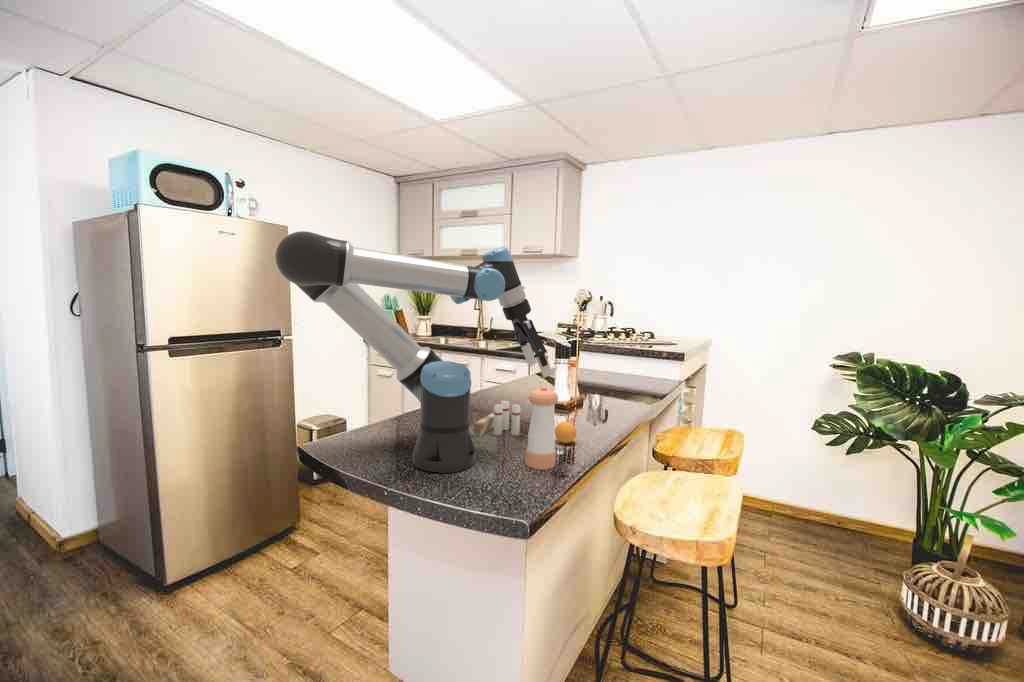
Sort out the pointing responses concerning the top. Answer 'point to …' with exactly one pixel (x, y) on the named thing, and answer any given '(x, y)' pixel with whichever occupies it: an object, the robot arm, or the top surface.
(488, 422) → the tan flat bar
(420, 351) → the robot arm
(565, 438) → the ball
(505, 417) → the pin
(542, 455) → the salt shaker
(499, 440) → the top surface
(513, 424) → the front pin
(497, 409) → the pin
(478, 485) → the top surface
